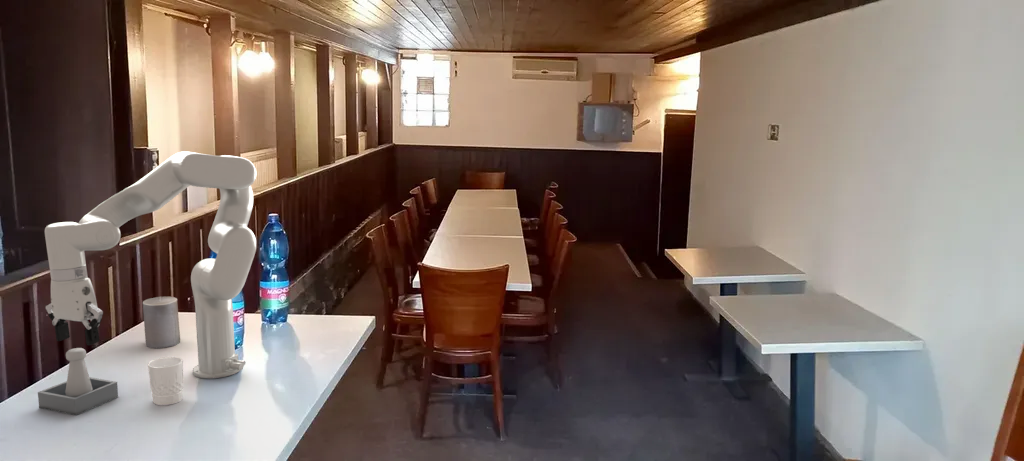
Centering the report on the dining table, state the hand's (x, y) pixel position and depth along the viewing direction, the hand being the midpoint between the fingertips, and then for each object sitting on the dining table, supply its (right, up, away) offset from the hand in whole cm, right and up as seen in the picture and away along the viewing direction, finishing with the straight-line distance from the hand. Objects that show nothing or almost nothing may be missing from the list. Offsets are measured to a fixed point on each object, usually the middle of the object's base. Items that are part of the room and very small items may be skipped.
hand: (78, 341), depth 181 cm
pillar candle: (-1, -8, +47) cm, 48 cm away
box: (-1, -15, +2) cm, 16 cm away
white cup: (+20, -16, +4) cm, 26 cm away
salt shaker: (-1, -15, +2) cm, 15 cm away
